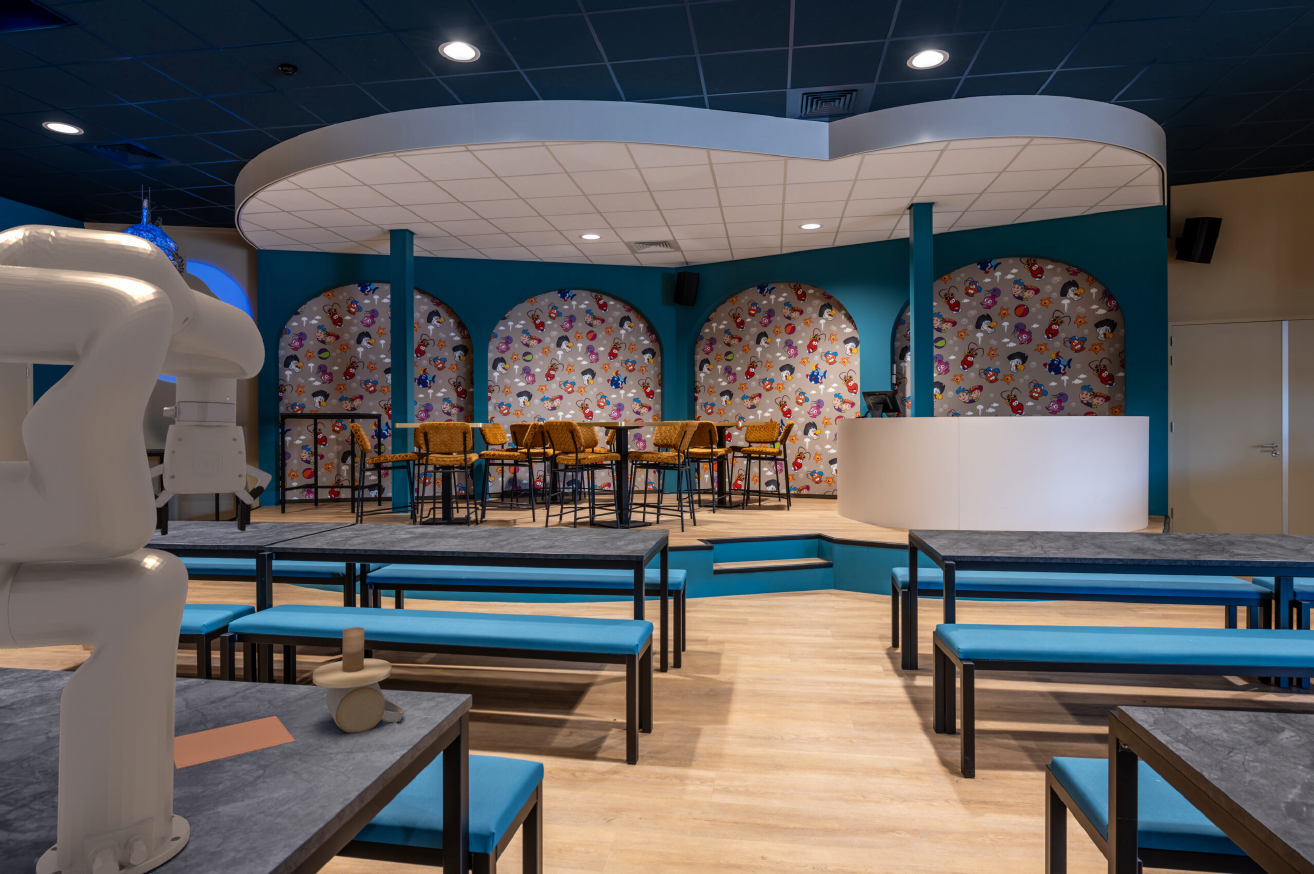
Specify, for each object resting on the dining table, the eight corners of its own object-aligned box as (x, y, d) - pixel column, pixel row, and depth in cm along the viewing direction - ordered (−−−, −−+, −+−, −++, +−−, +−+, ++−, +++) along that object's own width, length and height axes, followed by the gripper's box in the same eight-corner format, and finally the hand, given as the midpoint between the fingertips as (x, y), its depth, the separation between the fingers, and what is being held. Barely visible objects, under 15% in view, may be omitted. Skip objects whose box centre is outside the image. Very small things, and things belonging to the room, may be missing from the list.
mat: (295, 744, 100) (295, 740, 100) (176, 773, 91) (176, 768, 91) (275, 719, 109) (275, 715, 109) (166, 743, 100) (166, 738, 100)
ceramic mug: (334, 741, 101) (336, 687, 102) (324, 722, 108) (326, 672, 108) (409, 727, 107) (411, 676, 107) (396, 710, 114) (398, 662, 114)
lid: (399, 679, 106) (400, 632, 106) (319, 693, 100) (320, 643, 100) (381, 660, 115) (382, 617, 115) (307, 672, 109) (308, 626, 109)
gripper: (134, 413, 96) (131, 539, 95) (276, 417, 106) (274, 531, 106) (132, 414, 102) (129, 533, 101) (267, 419, 112) (265, 526, 112)
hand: (203, 532), depth 104 cm, fingers open, 9 cm apart
